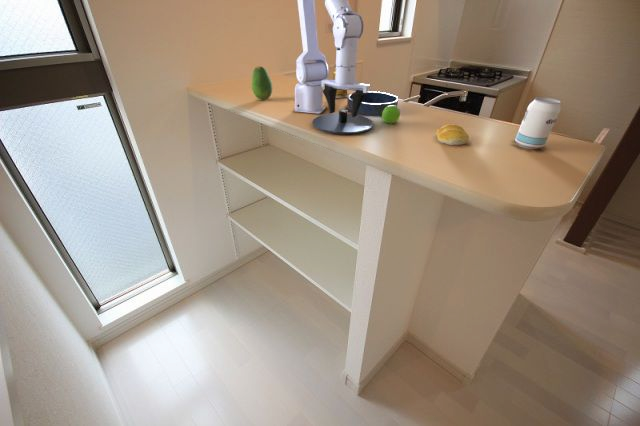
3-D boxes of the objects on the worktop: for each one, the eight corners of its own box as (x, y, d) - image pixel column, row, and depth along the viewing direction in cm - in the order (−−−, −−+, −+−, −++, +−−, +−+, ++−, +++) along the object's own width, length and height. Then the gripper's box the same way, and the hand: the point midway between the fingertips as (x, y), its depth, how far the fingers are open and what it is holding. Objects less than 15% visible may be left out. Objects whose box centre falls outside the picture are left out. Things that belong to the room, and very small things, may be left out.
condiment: (335, 98, 122) (337, 66, 115) (327, 93, 128) (328, 62, 121) (351, 97, 124) (353, 65, 117) (342, 92, 131) (344, 62, 124)
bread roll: (438, 145, 81) (442, 130, 79) (434, 134, 88) (437, 120, 86) (470, 147, 80) (475, 133, 77) (463, 136, 87) (467, 122, 85)
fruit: (252, 97, 121) (248, 65, 114) (271, 96, 123) (269, 64, 116) (254, 102, 115) (250, 68, 108) (274, 101, 116) (272, 67, 110)
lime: (380, 124, 95) (382, 107, 91) (382, 119, 99) (384, 102, 96) (397, 126, 93) (400, 108, 90) (398, 121, 98) (401, 104, 95)
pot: (342, 113, 105) (342, 101, 102) (352, 100, 119) (353, 90, 117) (394, 118, 101) (396, 105, 98) (398, 104, 115) (399, 93, 113)
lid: (301, 128, 91) (300, 113, 88) (329, 113, 104) (330, 100, 102) (358, 140, 83) (359, 124, 81) (381, 122, 97) (382, 108, 94)
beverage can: (535, 152, 77) (557, 105, 70) (508, 144, 82) (526, 99, 75) (547, 147, 81) (568, 101, 74) (520, 139, 85) (538, 95, 78)
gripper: (375, 66, 84) (370, 114, 92) (329, 61, 90) (328, 107, 98) (365, 69, 79) (361, 120, 87) (318, 64, 85) (317, 113, 92)
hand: (343, 114), depth 92 cm, fingers open, 7 cm apart
